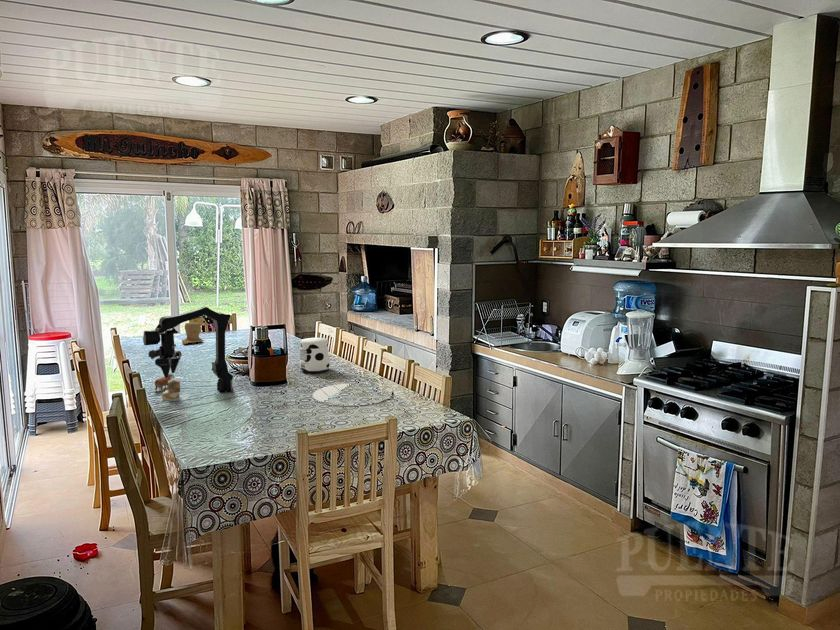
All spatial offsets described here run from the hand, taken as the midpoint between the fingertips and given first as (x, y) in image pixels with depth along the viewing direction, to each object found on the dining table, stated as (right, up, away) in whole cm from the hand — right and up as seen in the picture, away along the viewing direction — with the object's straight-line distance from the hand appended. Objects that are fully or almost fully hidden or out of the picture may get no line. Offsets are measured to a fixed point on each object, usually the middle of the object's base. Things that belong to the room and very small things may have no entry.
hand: (169, 375), depth 289 cm
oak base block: (0, -11, +2) cm, 11 cm away
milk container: (+59, -4, +59) cm, 84 cm away
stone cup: (-44, +8, +144) cm, 151 cm away
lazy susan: (+87, -11, +9) cm, 88 cm away
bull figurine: (-10, -10, +18) cm, 23 cm away
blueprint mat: (+2, -12, +2) cm, 12 cm away
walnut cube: (+2, -8, +2) cm, 8 cm away
